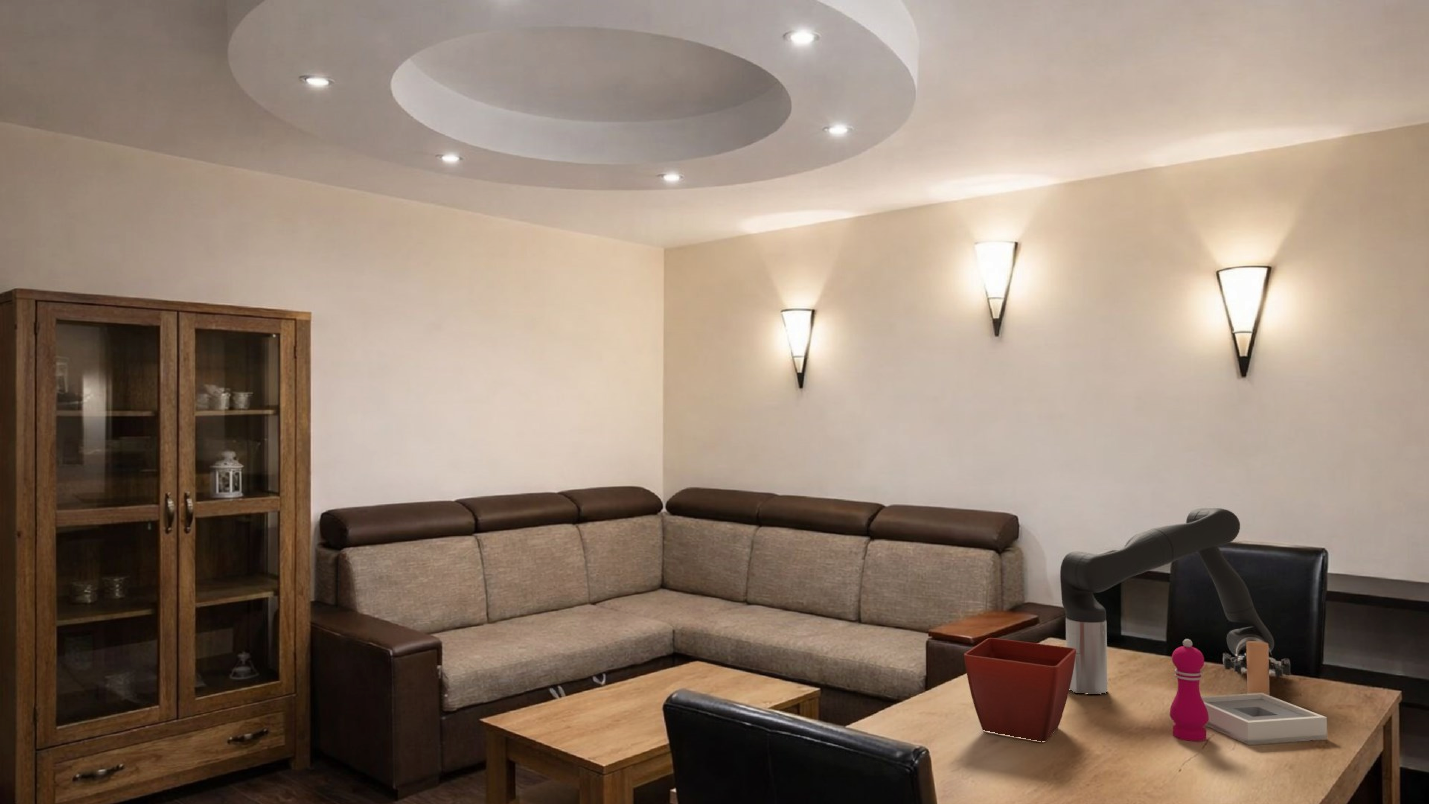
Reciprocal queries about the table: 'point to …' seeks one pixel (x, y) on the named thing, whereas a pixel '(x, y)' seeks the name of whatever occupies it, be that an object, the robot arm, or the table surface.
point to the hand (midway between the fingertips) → (1258, 671)
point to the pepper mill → (1188, 694)
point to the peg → (1257, 667)
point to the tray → (1265, 726)
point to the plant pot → (1019, 686)
